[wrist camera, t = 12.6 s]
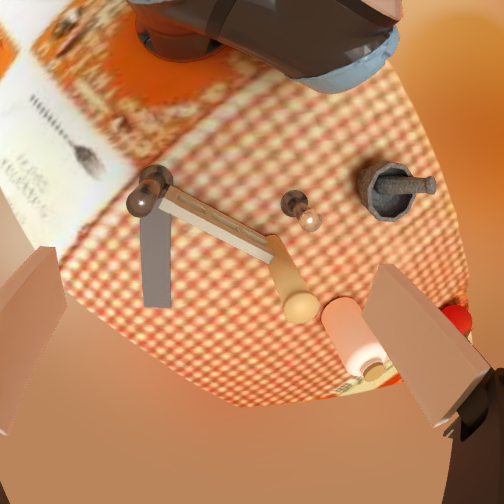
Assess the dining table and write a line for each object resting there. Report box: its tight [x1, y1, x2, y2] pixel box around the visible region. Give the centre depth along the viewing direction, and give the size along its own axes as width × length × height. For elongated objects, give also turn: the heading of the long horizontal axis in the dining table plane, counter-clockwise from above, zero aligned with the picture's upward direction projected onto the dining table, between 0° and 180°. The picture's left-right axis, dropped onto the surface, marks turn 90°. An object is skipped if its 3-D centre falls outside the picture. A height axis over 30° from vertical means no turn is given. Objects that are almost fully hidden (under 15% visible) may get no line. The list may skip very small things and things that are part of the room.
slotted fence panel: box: [159, 185, 319, 324], centre depth 38 cm, size 21×4×18 cm, turn 57°
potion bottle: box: [321, 297, 387, 381], centre depth 50 cm, size 8×8×18 cm
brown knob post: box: [126, 165, 173, 217], centre depth 37 cm, size 5×5×12 cm
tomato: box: [441, 305, 472, 339], centre depth 62 cm, size 10×11×11 cm
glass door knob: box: [281, 190, 322, 232], centre depth 43 cm, size 4×4×9 cm
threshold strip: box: [140, 175, 173, 308], centre depth 46 cm, size 24×5×1 cm, turn 173°
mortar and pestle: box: [357, 161, 436, 222], centre depth 41 cm, size 11×9×12 cm
